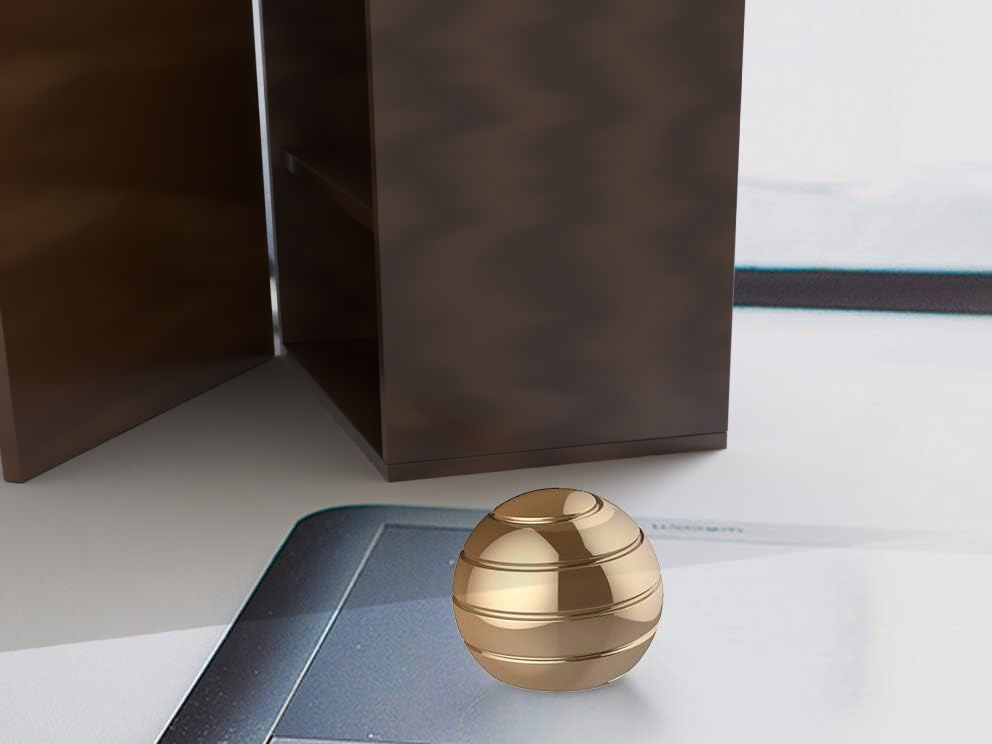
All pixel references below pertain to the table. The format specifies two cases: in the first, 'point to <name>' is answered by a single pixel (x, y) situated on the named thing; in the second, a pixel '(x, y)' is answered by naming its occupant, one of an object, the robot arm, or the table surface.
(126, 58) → the cupboard door
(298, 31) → the cupboard
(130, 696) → the table surface
